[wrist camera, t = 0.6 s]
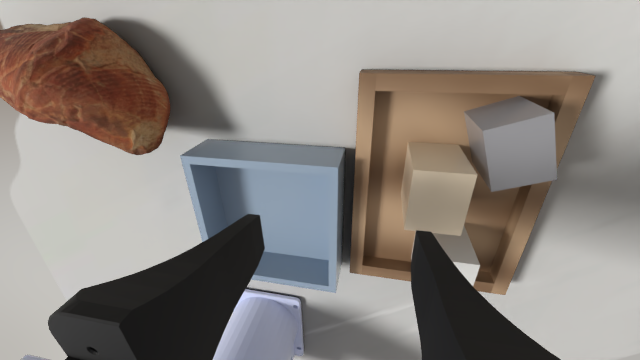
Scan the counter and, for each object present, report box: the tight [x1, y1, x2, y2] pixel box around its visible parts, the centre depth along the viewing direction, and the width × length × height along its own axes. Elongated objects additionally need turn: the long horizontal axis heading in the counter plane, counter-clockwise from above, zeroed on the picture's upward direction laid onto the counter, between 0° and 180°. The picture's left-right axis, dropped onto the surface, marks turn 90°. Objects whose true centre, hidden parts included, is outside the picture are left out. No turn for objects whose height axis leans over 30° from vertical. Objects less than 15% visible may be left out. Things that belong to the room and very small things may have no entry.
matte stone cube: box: [464, 96, 557, 192], centre depth 16 cm, size 4×3×4 cm
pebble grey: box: [411, 226, 480, 286], centre depth 20 cm, size 4×3×4 cm
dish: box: [180, 139, 345, 293], centre depth 23 cm, size 11×11×4 cm
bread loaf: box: [0, 18, 170, 155], centre depth 20 cm, size 13×8×10 cm
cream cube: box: [401, 142, 477, 236], centre depth 18 cm, size 4×3×4 cm
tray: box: [350, 70, 595, 295], centre depth 20 cm, size 16×12×2 cm
